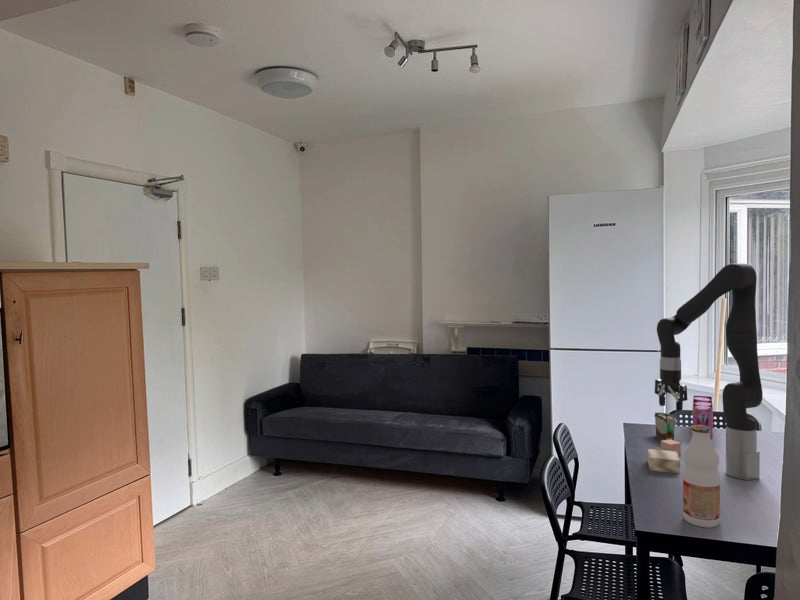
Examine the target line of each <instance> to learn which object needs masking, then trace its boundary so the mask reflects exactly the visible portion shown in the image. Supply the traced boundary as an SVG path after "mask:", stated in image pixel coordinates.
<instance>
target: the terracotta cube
mask: <svg viewBox="0 0 800 600" xmlns="http://www.w3.org/2000/svg"><path fill="white" fill-rule="evenodd" d="M681 447H682V446H681V442H679V441H676V440H675V439H674V440H671V439H670V440H663V439H662V440H660V450H665V451H677V454H678V456H681V455H682V454H681V453H682V451H681V450H682V449H681Z"/></svg>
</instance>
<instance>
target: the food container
mask: <svg viewBox="0 0 800 600" xmlns="http://www.w3.org/2000/svg"><path fill="white" fill-rule="evenodd" d="M653 416H654V422H655V435H656V436H657V437H658V438H660V439H661V440H662V441H663V440H670V439H671V440H674V441H675V439H674V438H675V429H676V424H677V423H678V422H677V418H676V416H675V415H674V414H671V413H666V412H654V415H653Z"/></svg>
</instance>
